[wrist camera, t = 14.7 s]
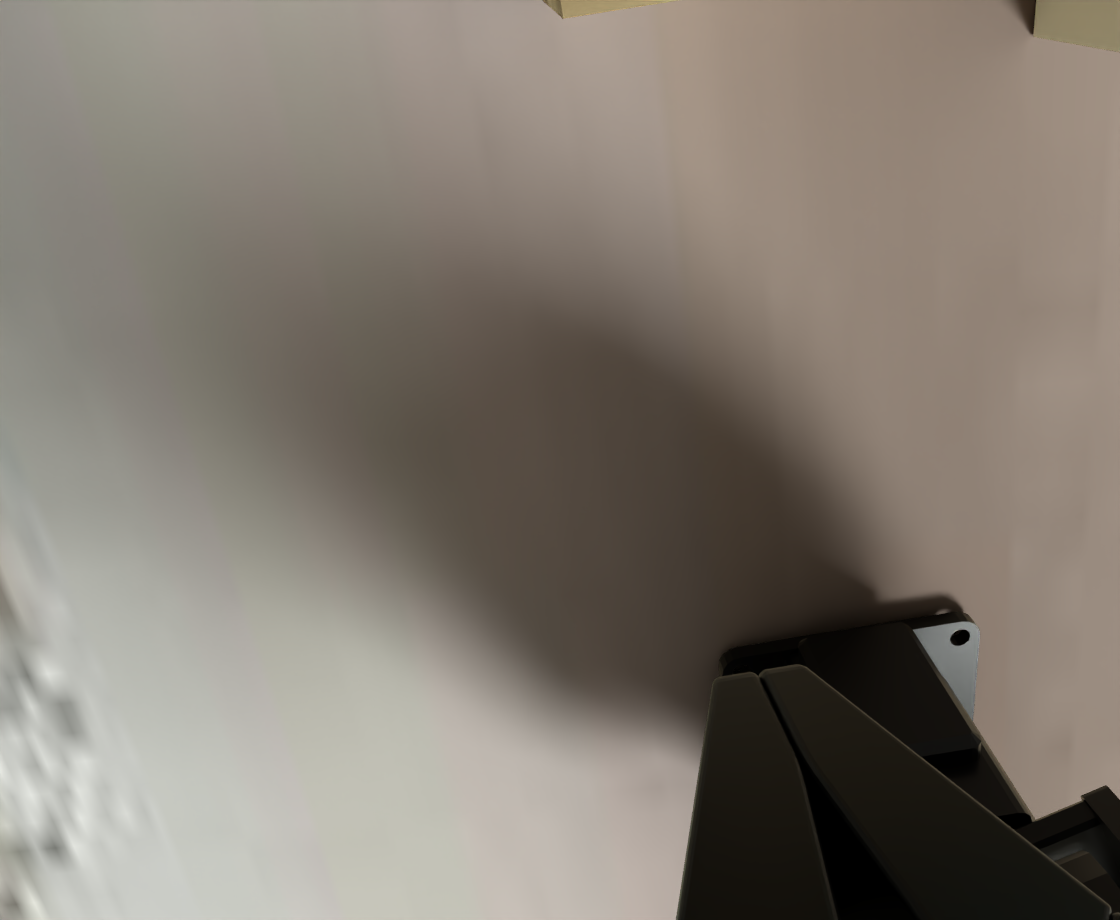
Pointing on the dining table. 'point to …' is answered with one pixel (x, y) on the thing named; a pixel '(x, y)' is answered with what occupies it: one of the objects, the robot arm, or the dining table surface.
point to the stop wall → (1079, 22)
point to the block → (595, 6)
